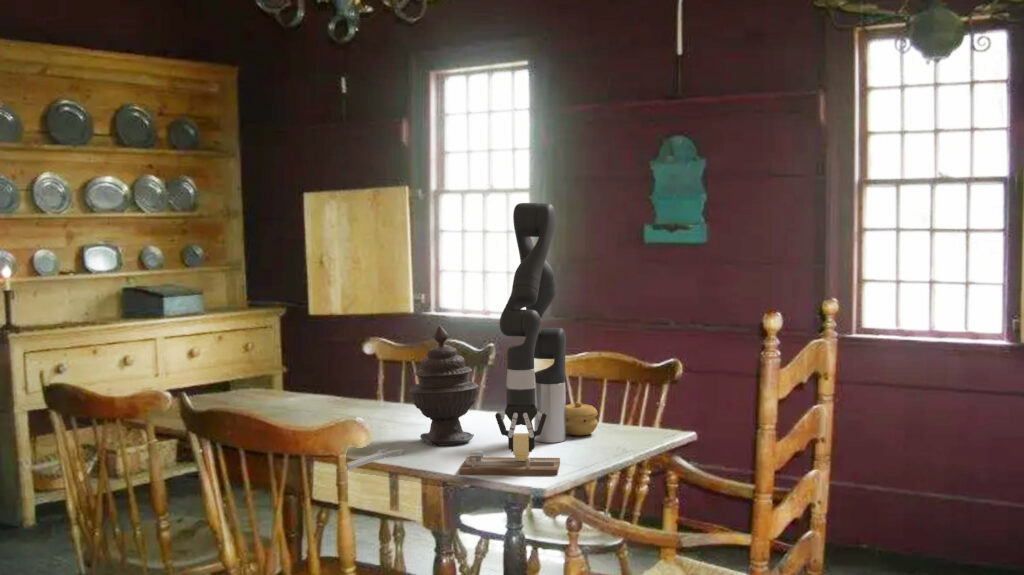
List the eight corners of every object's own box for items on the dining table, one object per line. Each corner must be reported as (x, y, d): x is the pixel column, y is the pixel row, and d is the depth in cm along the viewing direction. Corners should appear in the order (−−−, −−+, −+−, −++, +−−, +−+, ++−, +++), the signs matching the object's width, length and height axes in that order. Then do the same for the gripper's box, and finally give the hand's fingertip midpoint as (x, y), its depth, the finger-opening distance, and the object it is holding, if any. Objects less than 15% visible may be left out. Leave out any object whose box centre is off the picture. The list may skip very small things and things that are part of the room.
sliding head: (515, 458, 292) (515, 432, 291) (530, 459, 291) (530, 432, 291) (513, 464, 285) (512, 437, 285) (528, 464, 285) (528, 437, 285)
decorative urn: (496, 436, 329) (485, 319, 325) (455, 453, 312) (443, 330, 309) (443, 432, 340) (431, 320, 337) (400, 448, 324) (388, 330, 320)
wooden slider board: (467, 462, 297) (466, 447, 296) (560, 463, 294) (559, 448, 294) (459, 474, 283) (459, 459, 283) (557, 475, 280) (557, 459, 280)
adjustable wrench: (345, 472, 289) (345, 466, 289) (327, 470, 292) (327, 463, 292) (406, 454, 310) (406, 448, 309) (388, 452, 313) (388, 446, 313)
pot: (595, 438, 327) (595, 405, 326) (556, 437, 329) (555, 404, 329) (600, 431, 338) (599, 399, 338) (562, 430, 341) (561, 398, 340)
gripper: (549, 384, 290) (549, 448, 291) (495, 383, 291) (496, 448, 292) (547, 388, 283) (547, 454, 284) (492, 388, 284) (492, 454, 285)
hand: (521, 450), depth 288 cm, fingers closed on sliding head, 4 cm apart
